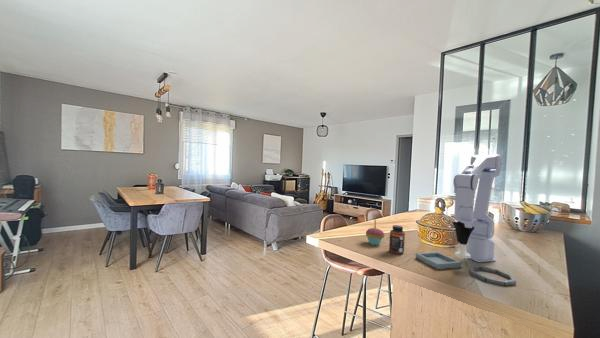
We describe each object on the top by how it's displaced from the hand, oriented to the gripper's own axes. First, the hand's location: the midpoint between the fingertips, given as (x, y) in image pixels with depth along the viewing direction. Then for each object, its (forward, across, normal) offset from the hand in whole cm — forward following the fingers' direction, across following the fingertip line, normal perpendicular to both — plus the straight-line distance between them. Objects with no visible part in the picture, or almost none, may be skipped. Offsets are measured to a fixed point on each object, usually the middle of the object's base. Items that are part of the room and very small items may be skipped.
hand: (461, 243), depth 91 cm
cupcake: (+10, +16, +32) cm, 37 cm away
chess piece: (+5, 0, 0) cm, 5 cm away
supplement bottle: (+10, +8, +22) cm, 25 cm away
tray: (+10, +3, +7) cm, 12 cm away
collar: (+10, -3, -8) cm, 13 cm away
